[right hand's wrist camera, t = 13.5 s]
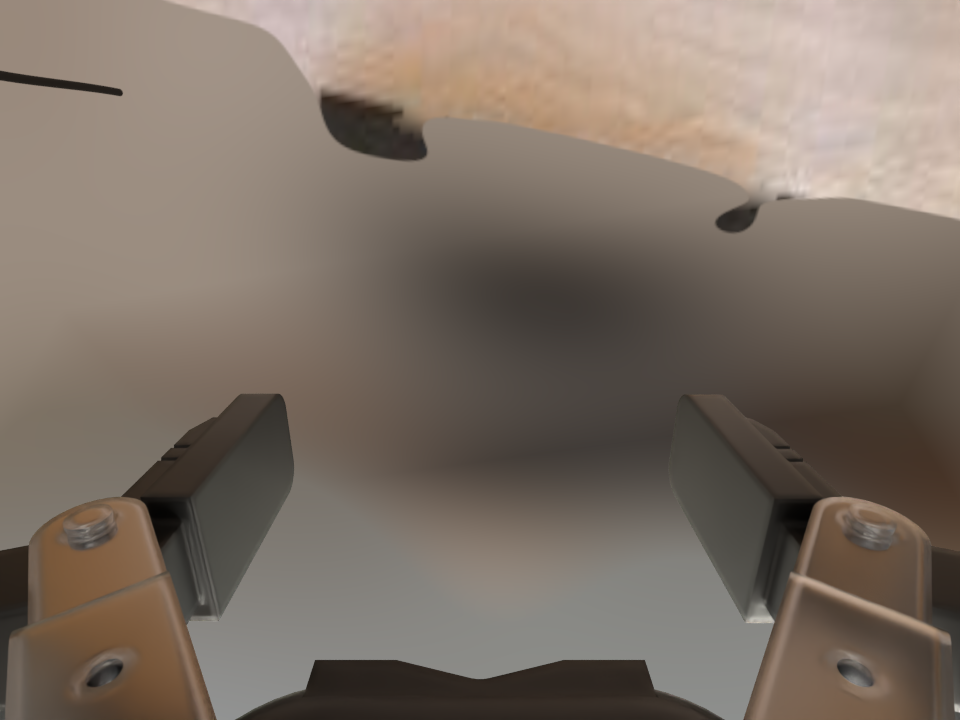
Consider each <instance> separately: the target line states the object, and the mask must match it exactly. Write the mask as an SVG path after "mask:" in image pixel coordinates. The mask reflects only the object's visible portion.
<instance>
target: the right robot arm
mask: <svg viewBox="0 0 960 720" xmlns="http://www.w3.org/2000/svg"><path fill="white" fill-rule="evenodd" d="M0 80H1V81H7V82H14V83H21V84H28V85H36V86H45V87H53V88H62V89H71V90H79V91H88V92H95V93H102V94H109V95H116V96H122V95H123V91H122V90H121V89H118V88H113V87H107V86H101V85H95V84H89V83H82V82H75V81H67V80H60V79H52V78H45V77H38V76H31V75H24V74H18V73H11V72H6V71H0ZM293 476H294V461H293V454H292V447H291V440H290V433H289V426H288V419H287V412H286V405H285V402H284V399H283V397H282V396H281V395H280V394H240V395H239V396H238V397H237V398H236V399H235V400H234V401H233V402H232V403H231V404H230V405H229V406H228V407H227V408H226V409H225V410H224V411H223V412H222V413H221V414H220V415H219V416H218V417H217V418H211V419H209V420H207V421H206V422H204V423H202V424H200V425H198V426H196V427H194V428H193V429H191V430H189V431H188V432H187V433H186V434H185V435H184V436H183V437H182V438H181V439H180V440H179V441H178V442H177V443H176V444H175V445H174V448H171V449H170V450H169V451H167V452H166V453H165V454H164V455H163V456H162V458H161V461H157V462H156V463H155V464H154V465H153V466H152V467H151V468H150V469H149V470H148V471H147V472H146V473H145V474H144V475H143V476H142V477H141V478H140V479H139V480H138V481H137V482H136V483H135V484H134V485H133V486H132V487H131V488H130V489H129V490H128V491H127V492H126V493H124V494H123V495H122V496H121V497H112V498H105V499H99V500H95V501H91V502H88V503H85V504H82V505H79V506H76V507H74V508H71V509H69V510H67V511H65V512H63V513H61V514H59V515H57V516H56V517H54V518H52V519H51V520H49V521H48V522H47V523H45V524H44V525H43V526H42V527H40V528H39V529H38V530H37V531H36V533H35V534H34V535H33V536H32V538H31V540H30V543H29V545H28V546H23V547H18V548H12V549H7V550H2V551H0V720H217V719H216V716H215V713H214V710H213V707H212V704H211V701H210V697H209V694H208V691H207V688H206V685H205V682H204V679H203V676H202V672H201V669H200V666H199V663H198V660H197V657H196V654H195V650H194V647H193V644H192V641H191V638H190V635H189V632H188V629H187V624H188V622H189V621H219V620H220V618H221V616H222V614H223V612H224V611H225V609H226V607H227V605H228V603H229V601H230V600H231V598H232V596H233V594H234V592H235V591H236V589H237V587H238V585H239V583H240V582H241V580H242V578H243V576H244V574H245V572H246V571H247V569H248V567H249V565H250V563H251V562H252V560H253V558H254V556H255V554H256V552H257V551H258V549H259V547H260V545H261V543H262V542H263V540H264V538H265V536H266V534H267V532H268V531H269V529H270V527H271V525H272V523H273V522H274V520H275V518H276V516H277V514H278V513H279V511H280V509H281V507H282V505H283V503H284V502H285V500H286V498H287V496H288V494H289V492H290V490H291V487H292V483H293ZM669 478H670V484H671V488H672V491H673V493H674V496H675V497H676V499H677V501H678V503H679V505H680V506H681V508H682V510H683V512H684V513H685V515H686V517H687V519H688V521H689V522H690V524H691V526H692V528H693V530H694V531H695V533H696V535H697V537H698V539H699V540H700V542H701V544H702V546H703V548H704V549H705V551H706V553H707V555H708V557H709V558H710V560H711V562H712V564H713V566H714V567H715V569H716V571H717V573H718V574H719V576H720V578H721V580H722V581H723V583H724V585H725V587H726V589H727V591H728V592H729V594H730V596H731V598H732V600H733V601H734V603H735V605H736V607H737V609H738V610H739V612H740V614H741V616H742V618H743V619H744V621H745V623H774V625H773V629H772V632H771V635H770V638H769V641H768V644H767V647H766V651H765V654H764V657H763V660H762V663H761V666H760V669H759V672H758V676H757V679H756V682H755V685H754V688H753V691H752V694H751V697H750V701H749V704H748V707H747V710H746V713H745V716H744V719H743V720H960V552H959V551H954V550H949V549H944V548H939V547H934V546H931V543H930V540H929V538H928V536H927V535H926V534H925V533H924V531H923V530H922V529H921V528H920V527H918V526H917V525H916V524H915V523H913V522H912V521H911V520H909V519H908V518H906V517H904V516H903V515H901V514H899V513H897V512H895V511H893V510H891V509H889V508H886V507H884V506H881V505H878V504H875V503H872V502H869V501H865V500H861V499H856V498H848V497H842V496H841V495H840V494H839V493H838V492H837V491H836V490H835V489H834V488H833V487H832V486H831V485H829V484H828V483H827V482H826V481H825V480H824V479H823V478H822V477H821V476H820V475H819V474H818V473H817V472H816V471H815V470H814V469H813V468H812V467H811V466H810V465H809V464H808V463H807V462H803V459H802V457H801V456H799V455H798V454H797V453H796V452H795V451H794V450H793V449H790V446H789V445H788V444H787V443H786V442H785V441H784V440H783V439H782V438H781V437H780V436H779V435H778V434H777V433H776V432H775V431H773V430H771V429H769V428H767V427H766V426H764V425H762V424H760V423H758V422H756V421H754V420H753V419H751V418H745V417H744V416H743V414H742V413H741V412H740V411H739V410H738V409H737V408H736V407H735V406H734V405H733V404H732V403H731V402H730V401H729V400H728V399H727V398H726V397H725V396H723V395H683V396H682V397H681V398H680V400H679V402H678V406H677V412H676V419H675V426H674V433H673V440H672V447H671V454H670V461H669ZM236 720H724V719H722V718H721V717H719V716H717V715H716V714H714V713H712V712H710V711H709V710H707V709H705V708H703V707H701V706H699V705H696V704H694V703H692V702H690V701H688V700H686V699H683V698H680V697H677V696H674V695H671V694H669V693H666V692H662V691H658V690H654V687H653V684H652V681H651V678H650V675H649V672H648V669H647V665H646V662H645V660H562V661H558V662H554V663H550V664H546V665H542V666H538V667H534V668H529V669H525V670H521V671H517V672H513V673H509V674H505V675H501V676H497V677H492V678H488V679H472V678H467V677H463V676H459V675H455V674H451V673H447V672H443V671H439V670H435V669H431V668H426V667H422V666H418V665H414V664H410V663H406V662H402V661H398V660H315V662H314V666H313V669H312V672H311V675H310V678H309V681H308V684H307V687H306V690H302V691H298V692H294V693H291V694H289V695H286V696H283V697H280V698H277V699H274V700H272V701H270V702H268V703H266V704H264V705H262V706H259V707H257V708H255V709H253V710H251V711H250V712H248V713H246V714H244V715H243V716H241V717H239V718H237V719H236Z"/></svg>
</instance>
